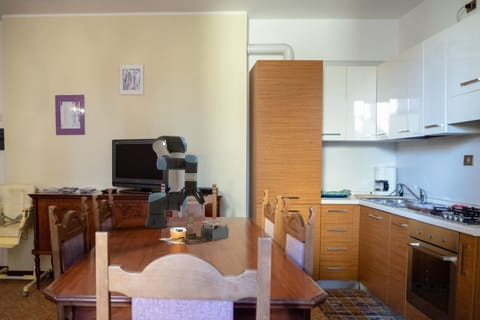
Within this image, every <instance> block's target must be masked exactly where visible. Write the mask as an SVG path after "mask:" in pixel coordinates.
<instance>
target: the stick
mask: <svg viewBox="0 0 480 320" xmlns="http://www.w3.org/2000/svg"><path fill="white" fill-rule="evenodd" d="M194 216H195V210H193V209H186V210H185V229H186V230H187V231H186V233H187V234H192V233H193V232H194V226H195V224H194V223H195V222H194V220H195V217H194Z"/></svg>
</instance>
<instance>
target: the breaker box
mask: <svg viewBox="0 0 480 320" xmlns="http://www.w3.org/2000/svg"><path fill="white" fill-rule="evenodd" d="M212 222H218V223H212ZM200 223H201V226H200V236H199V237H202V238H205V239H206V240H209V241H212V242H214V241H218V240H225V239H229V236H230V235H229V232H230V230H229V227H228V225H229V223H230V222H228V221H224V220H220V219H217V218H216V219H209V220H202V221H200ZM215 225H218V227H214V226H215Z"/></svg>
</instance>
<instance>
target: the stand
mask: <svg viewBox="0 0 480 320" xmlns="http://www.w3.org/2000/svg"><path fill="white" fill-rule="evenodd" d="M191 236H197V232H194V231H193V233H192V234H187V233H186V237H191Z"/></svg>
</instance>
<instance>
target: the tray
mask: <svg viewBox="0 0 480 320" xmlns="http://www.w3.org/2000/svg"><path fill="white" fill-rule="evenodd" d="M182 242H185V243H187V244H190V245H196V244H202V243H203V244H204V243H206V242H207V239H206V238H203V237H200V236H199V235H196V236H191V237H185V238H182Z"/></svg>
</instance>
